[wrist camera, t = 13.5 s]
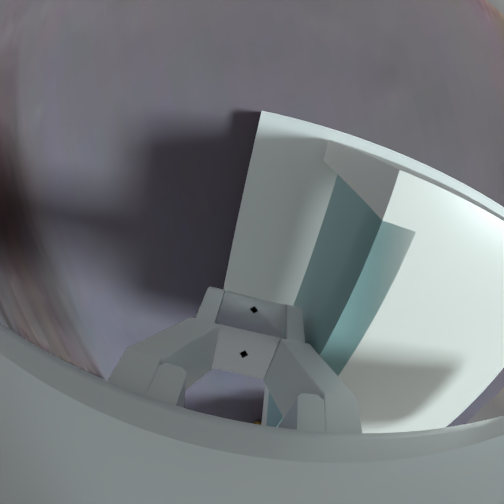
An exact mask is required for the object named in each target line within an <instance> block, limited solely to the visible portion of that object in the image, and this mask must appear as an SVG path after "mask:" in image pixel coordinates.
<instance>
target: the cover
mask: <svg viewBox="0 0 504 504" xmlns="http://www.w3.org/2000/svg"><path fill="white" fill-rule="evenodd" d="M324 162H325V163H326V164H327V165H329V166H330V167H331V168H332V169H333V170H334V171H335V172H336V173H337V177H336V181H335V184H334V187H333V191H332V194H331V197H330V200H329V204H328V207H327V210H326V213H325V216H324V219H323V222H322V225H321V228H320V231H319V234H318V237H317V240H316V243H315V246H314V249H313V252H312V255H311V258H310V261H309V264H308V266H307V269H306V272H305V275H304V278H303V280H302V283H301V286H300V289H299V291H298V294H297V297H296V299H295V302H294V305H293V306H298V307H301V308H302V309H303V321H304V334H305V343H308V344H310V345H311V346H312V347H313V348H314V349H315V351H316V352H317V353H318V354H319V355H320V356H321V358H322V359H323V360H324V361H325V362H326V363H327V364H328V366H329V367H330V368H331V369H332V370H333V371H334V373H335V374H336V375H337V376H338V377H339V378H340V379H341V381H342V382H343V383H344V384H345V385H346V386H347V387H348V389H349V390H350V391H351V392H352V393H353V394H354V395H355V397H356V398H357V404H358V410H359V416H360V422H361V429H362V433H394V432H410V431H421V430H431V429H439V428H445V427H447V426H448V425H449V424H450V423H451V422H452V421H453V420H454V419H455V418H457V417H458V416H459V415H460V414H461V413H462V412H463V411H464V410H465V409H466V408H467V407H468V406H469V405H470V404H471V403H472V402H473V401H474V400H475V399H476V398H477V397H478V396H479V395H480V394H481V393H482V392H483V391H484V390H485V388H486V387H487V386H488V385H489V384H490V383H491V382H492V381H493V380H494V378H495V377H496V376H497V375H498V374H499V372H500V371H501V370H502V369H503V368H504V217H502V216H501V215H499V214H497V213H496V212H494V211H493V210H491V209H489V208H488V207H486V206H484V205H483V204H481V203H479V202H477V201H476V200H474V199H472V198H470V197H469V196H467V195H465V194H463V193H461V192H459V191H457V190H455V189H453V188H451V187H449V186H447V185H445V184H443V183H441V182H439V181H437V180H435V179H432V178H430V177H428V176H426V175H424V174H421V173H419V172H417V171H414V170H412V169H410V168H407V167H405V166H403V165H400V164H398V163H395V162H393V161H390V160H387V159H385V158H382V157H380V156H377V155H374V154H371V153H369V152H366V151H363V150H360V149H357V148H354V147H351V146H348V145H345V144H342V143H339V142H336V141H333V140H329V142H328V146H327V150H326V153H325V157H324ZM282 420H283V416H282V414H281V412H280V410H279V408H278V407H277V405H276V403H275V401H274V399H273V397H272V395H271V393H270V392H269V390H268V388H267V386H266V384H265V391H264V402H263V413H262V424H261V425H264V426H271V427H278V426H279V424H280V423H281V421H282Z"/></svg>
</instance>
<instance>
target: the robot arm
mask: <svg viewBox="0 0 504 504" xmlns="http://www.w3.org/2000/svg"><path fill="white" fill-rule="evenodd" d="M212 368H215V369H220V370H225V371H229V372H234V373H239V374H243V375H247V376H252V377H256V378H261V379H264V382H265V384H266V386H267V388H268V390H269V392H270V393H271V395H272V397H273V399H274V401H275V403H276V405H277V407H278V408H279V410H280V412H281V414H282V416H283V420H282V421H281V423H280V424H279V426H278V427H271V426H264V425H258V424H252V423H247V422H241V421H236V420H231V419H227V418H222V417H218V416H213V415H209V414H205V413H201V412H197V411H193V410H190V409H186V408H184V402H185V390H186V389H188V388H189V387H190V386H191V385H193V384H194V383H195V382H196V381H198V380H199V379H200V378H201V377H202V376H204V375H205V374H206V373H207V372H209V371H210V370H211V369H212ZM0 504H504V416H500V417H496V418H493V419H489V420H484V421H479V422H475V423H470V424H464V425H459V426H453V427H446V428H439V429H431V430H421V431H410V432H394V433H362V429H361V422H360V416H359V410H358V404H357V398H356V397H355V395H354V394H353V393H352V392H351V391H350V390H349V389H348V387H347V386H346V385H345V384H344V383H343V382H342V381H341V379H340V378H339V377H338V376H337V375H336V374H335V373H334V371H333V370H332V369H331V368H330V367H329V366H328V364H327V363H326V362H325V361H324V360H323V359H322V358H321V356H320V355H319V354H318V353H317V352H316V351H315V349H314V348H313V347H312V346H311V345H310V344H308V343H305V334H304V321H303V309H302V308H301V307H298V306H292V305H287V304H286V305H285V304H280V303H275V302H271V301H266V300H261V299H257V298H254V297H250V296H246V295H242V294H239V293H235V292H231V291H227V290H226V291H225V290H223V289H219V288H215V287H211V286H209V287H208V288H207V291H206V293H205V296H204V298H203V300H202V303H201V305H200V308H199V310H198V312H197V315H196V317H195V318H192V317H189V318H187V319H185V320H183V321H181V322H179V323H177V324H175V325H173V326H171V327H169V328H167V329H165V330H163V331H161V332H159V333H157V334H155V335H153V336H151V337H149V338H147V339H144V340H142V341H140V342H138V343H136V344H134V345H132V346H130V347H128V348H126V350H125V352H124V353H123V355H122V357H121V358H120V360H119V362H118V363H117V365H116V367H115V369H114V370H113V372H112V374H111V376H110V377H109V379H108V381H106V380H103V379H101V378H99V377H97V376H94V375H92V374H90V373H88V372H86V371H83V370H81V369H79V368H77V367H75V366H73V365H71V364H69V363H67V362H65V361H63V360H61V359H59V358H57V357H55V356H54V355H52V354H50V353H48V352H46V351H44V350H43V349H41V348H39V347H37V346H36V345H34V344H32V343H31V342H29V341H27V340H26V339H24V338H22V337H21V336H19V335H18V334H16V333H15V332H13V331H11V330H10V329H8V328H7V327H5V326H4V325H3V324H1V323H0Z"/></svg>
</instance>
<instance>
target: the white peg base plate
mask: <svg viewBox="0 0 504 504" xmlns="http://www.w3.org/2000/svg"><path fill="white" fill-rule="evenodd" d="M329 140H333V141H336V142H339V143H342V144H345V145H348V146H351V147H354V148H357V149H360V150H363V151H366V152H369V153H371V154H374V155H377V156H380V157H382V158H385V159H387V160H390V161H393V162H395V163H398V164H400V165H403V166H405V167H407V168H410V169H412V170H414V171H417V172H419V173H421V174H424V175H426V176H428V177H430V178H432V179H435V180H437V181H439V182H441V183H443V184H445V185H447V186H449V187H451V188H453V189H455V190H457V191H459V192H461V193H463V194H465V195H467V196H469V197H470V198H472V199H474V200H476V201H477V202H479V203H481V204H483V205H484V206H486V207H488V208H489V209H491V210H493V211H494V212H496V213H497V214H499V215H501V216H502V217H504V207H502V206H501V205H499V204H498V203H496V202H494V201H493V200H491V199H490V198H488V197H486V196H484V195H483V194H481V193H479V192H478V191H476V190H474V189H472V188H470V187H469V186H467V185H465V184H463V183H461V182H459V181H458V180H456V179H454V178H452V177H450V176H448V175H446V174H444V173H442V172H440V171H438V170H436V169H434V168H431V167H429V166H427V165H425V164H423V163H421V162H418V161H416V160H414V159H412V158H409V157H407V156H405V155H402V154H400V153H397V152H395V151H393V150H390V149H388V148H385V147H382V146H380V145H377V144H374V143H372V142H369V141H366V140H364V139H361V138H358V137H355V136H352V135H349V134H346V133H343V132H340V131H337V130H334V129H330V128H327V127H324V126H320V125H317V124H313V123H310V122H306V121H302V120H299V119H295V118H291V117H287V116H283V115H279V114H274V113H270V112H265V111H262V112H261V116H260V120H259V124H258V129H257V133H256V138H255V142H254V146H253V151H252V155H251V160H250V164H249V169H248V173H247V178H246V182H245V187H244V192H243V196H242V201H241V206H240V210H239V215H238V220H237V224H236V229H235V234H234V239H233V244H232V249H231V253H230V258H229V263H228V268H227V273H226V278H225V283H224V288H223V290H225V291H226V290H227V291H231V292H235V293H239V294H242V295H246V296H250V297H254V298H257V299H261V300H266V301H271V302H275V303H280V304H285V305H286V304H287V305H292V306H293V305H294V302H295V299H296V297H297V294H298V291H299V289H300V286H301V283H302V280H303V278H304V275H305V272H306V269H307V266H308V264H309V261H310V258H311V255H312V252H313V249H314V246H315V243H316V240H317V237H318V234H319V231H320V228H321V225H322V222H323V219H324V216H325V213H326V210H327V207H328V204H329V200H330V197H331V194H332V191H333V187H334V184H335V181H336V177H337V173H336V172H335V171H334V170H333V169H332V168H331V167H330V166H329V165H327V164H326V163H325V162H324V157H325V153H326V150H327V146H328V142H329Z"/></svg>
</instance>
